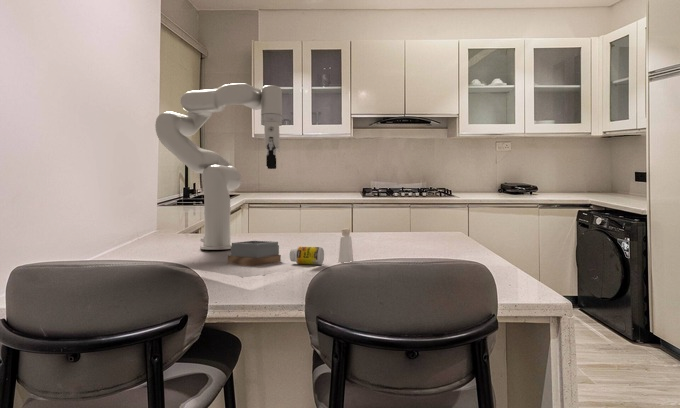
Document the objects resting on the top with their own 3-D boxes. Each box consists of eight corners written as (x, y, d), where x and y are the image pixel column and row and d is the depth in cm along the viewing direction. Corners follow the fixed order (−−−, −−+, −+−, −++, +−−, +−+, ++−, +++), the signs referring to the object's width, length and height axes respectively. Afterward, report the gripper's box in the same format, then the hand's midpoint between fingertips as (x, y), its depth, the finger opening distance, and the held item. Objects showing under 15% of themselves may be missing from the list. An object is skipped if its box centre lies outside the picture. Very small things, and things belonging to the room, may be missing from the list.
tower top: (230, 255, 149) (230, 242, 149) (253, 252, 158) (253, 240, 158) (257, 257, 143) (257, 244, 143) (278, 254, 153) (278, 241, 153)
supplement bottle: (318, 259, 141) (287, 258, 144) (322, 267, 145) (292, 267, 148) (321, 243, 144) (290, 243, 147) (325, 252, 149) (295, 252, 151)
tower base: (227, 264, 149) (227, 255, 149) (255, 261, 159) (255, 252, 159) (253, 268, 142) (253, 258, 142) (280, 263, 152) (280, 254, 152)
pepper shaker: (356, 261, 153) (356, 228, 153) (351, 263, 148) (351, 229, 148) (340, 260, 155) (340, 228, 155) (335, 262, 150) (335, 229, 150)
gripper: (281, 116, 159) (281, 165, 159) (282, 125, 177) (282, 169, 177) (259, 115, 158) (259, 165, 158) (262, 124, 176) (262, 169, 176)
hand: (271, 167), depth 168 cm, fingers open, 9 cm apart
